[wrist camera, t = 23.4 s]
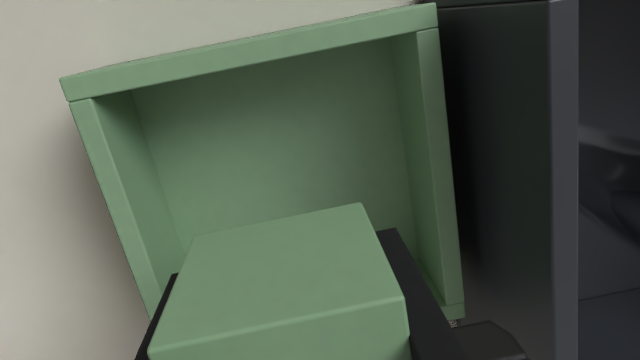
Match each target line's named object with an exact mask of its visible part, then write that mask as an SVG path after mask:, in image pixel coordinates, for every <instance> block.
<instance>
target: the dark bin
mask: <svg viewBox="0 0 640 360" xmlns="http://www.w3.org/2000/svg"><path fill="white" fill-rule="evenodd" d="M426 3H436V8H437V18H438V27H436V28H438V29H439V38H440V48H441V59H442V69H443V79H444V90H445V100H446V111H447V121H448V131H449V142H450V152H451V163H452V173H453V183H454V194H455V204H456V215H457V225H458V235H459V246H460V256H461V267H462V277H463V287H464V298H465V301H464V302H465V310H466V317H464V318H459V319H456V321H457V327H459V326H463V325H468V324H473V323H478V322H482V321H487V320H490V321H492V322H494V323H495V324H497V325H498V326H500V327H501V328H503V329H504V330H506V331H508V332H509V333H511V334H512V335H513V336H514V338H515V339H516V340H517V342H518V343H519V344H520V346H521V347H522V348H523V350H524V351H525V353H526V354H527V357H528V359H529V358H530V359H531V360H640V261H639V260H638V259H636V258H635V257H634V256H633V255H632V254H631V253H629V252H628V251H627V250H626V249H625V248H624V247H622V246H621V245H620V244H619V243H618V242H616V241H615V240H614V239H613V238H612V237H610V236H609V235H608V234H606V233H605V232H604V231H603V230H601V229H600V228H599V227H598V226H596V225H595V224H594V223H592V222H591V221H590V220H589V219H587V218H586V217H585V216H584V215H582V214H581V213H580V212H579V211H578V125H579V126H584V127H588V128H592V129H596V130H601V131H605V132H609V133H614V134H618V135H622V136H627V137H631V138H635V139H640V0H423V4H426Z"/></svg>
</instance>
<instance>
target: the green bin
mask: <svg viewBox="0 0 640 360" xmlns="http://www.w3.org/2000/svg"><path fill="white" fill-rule="evenodd" d="M436 27H438V18H437V8H436V3H426V4H417V5H409V6H401V7H396V8H391V9H386V10H381V11H376V12H371V13H366V14H361V15H356V16H351V17H346V18H341V19H336V20H331V21H326V22H321V23H316V24H311V25H306V26H301V27H297V28H292V29H287V30H282V31H277V32H272V33H267V34H262V35H257V36H252V37H247V38H242V39H237V40H232V41H227V42H222V43H217V44H212V45H207V46H202V47H197V48H193V49H188V50H183V51H178V52H173V53H168V54H163V55H158V56H153V57H148V58H143V59H138V60H133V61H128V62H123V63H118V64H113V65H108V66H105V67H101V68H97V69H93V70H89V71H85V72H82V73H78V74H74V75H70V76H66V77H62V78H60V79H59V81H60V84H61V87H62V89H63V92H64V94H65V97H66V100H67V101H68V102H70V103H69V107H70V110H71V112H72V115H73V118H74V120H75V123H76V126H77V128H78V131H79V133H80V136H81V139H82V141H83V144H84V147H85V149H86V152H87V155H88V157H89V160H90V163H91V165H92V168H93V170H94V173H95V176H96V178H97V181H98V184H99V186H100V189H101V192H102V194H103V197H104V200H105V202H106V205H107V208H108V210H109V213H110V215H111V218H112V221H113V223H114V226H115V229H116V231H117V234H118V237H119V239H120V242H121V245H122V247H123V250H124V252H125V255H126V258H127V260H128V263H129V266H130V268H131V271H132V274H133V276H134V279H135V282H136V284H137V287H138V290H139V292H140V295H141V297H142V300H143V303H144V305H145V308H146V311H147V313H148V316H149V319H150V321H151V320H152V318H153V316H154V313H155V311H156V309H157V307H158V304H159V302H160V300H161V297H162V295H163V293H164V290H165V288H166V286H167V284H168V281H169V279H170V277H171V274H174V273H179V271H180V269H181V266H182V264H183V261H184V259H185V256H186V254H187V252H188V249H189V247H190V244H191V242H192V239H193V238H194V237H195V236H199V235H204V234H209V233H213V232H218V231H223V230H228V229H233V228H238V227H242V226H247V225H252V224H257V223H262V222H266V221H271V220H276V219H281V218H286V217H290V216H295V215H300V214H305V213H310V212H315V211H319V210H324V209H329V208H334V207H339V206H343V205H348V204H353V203H358V202H360V203H362V205H363V207H364V209H365V211H366V213H367V216H368V218H369V220H370V222H371V224H372V227H373V229H374V231H380V230H385V229H389V228H394V227H396V229H397V231H398V233H399V234H400V236H401V238H402V240H403V242H404V243H405V245H406V247H407V249H408V251H409V252H410V254H411V256H412V258H413V259H414V261H415V263H416V265H417V267H418V268H419V270H420V272H421V274H422V276H423V277H424V279H425V281H426V283H427V285H428V286H429V288H430V290H431V292H432V294H433V295H434V297H435V299H436V301H437V302H438V304H439V306H440V308H441V310H442V311H443V313H444V315H445V317H446V319H447V320H448V321H450V320H454V319H459V318H464V317H466V310H465V302H464V301H465V298H464V287H463V277H462V267H461V256H460V246H459V235H458V225H457V215H456V204H455V194H454V183H453V173H452V163H451V152H450V142H449V131H448V121H447V111H446V100H445V90H444V79H443V69H442V59H441V48H440V38H439V29H438V28H436Z"/></svg>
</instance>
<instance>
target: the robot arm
mask: <svg viewBox="0 0 640 360" xmlns="http://www.w3.org/2000/svg"><path fill="white" fill-rule="evenodd" d="M375 233H376V236H377V238H378V240H379V242H380V244H381V247H382V249H383V251H384V253H385V255H386V258H387V260H388V262H389V264H390V266H391V269H392V271H393V273H394V275H395V278H396V280H397V282H398V284H399V286H400V289H401V291H402V293H403V295H404V297H405V303H406V310H407V317H408V323H409V330H410V336H409V341H410V347H411V354H412V360H531V359H530V358H529V359H528V357H527V354H526V353H525V351H524V350H523V348H522V347H521V346H520V344H519V343H518V342H517V340H516V339H515V338H514V336H513V335H512V334H511V333H509V332H508V331H506V330H504V329H503V328H501V327H500V326H498V325H497V324H495V323H494V322H492V321H490V320H487V321H482V322H478V323H473V324H468V325H463V326H459V327H454V328H451V326H450V324H449V322H448V320H447V319H446V317H445V315H444V313H443V311H442V310H441V308H440V306H439V304H438V302H437V301H436V299H435V297H434V295H433V294H432V292H431V290H430V288H429V286H428V285H427V283H426V281H425V279H424V277H423V276H422V274H421V272H420V270H419V268H418V267H417V265H416V263H415V261H414V259H413V258H412V256H411V254H410V252H409V251H408V249H407V247H406V245H405V243H404V242H403V240H402V238H401V236H400V234H399V233H398V231H397V229H396V227H394V228H389V229H385V230H380V231H375ZM177 276H178V273H174V274H171V277H170V279H169V281H168V284H167V286H166V288H165V290H164V293H163V295H162V297H161V300H160V302H159V304H158V307H157V309H156V311H155V313H154V316H153V318H152V320H151V323H150V325H149V327H148V329H147V332H146V334H145V336H144V339H143V341H142V343H141V346H140V348H139V350H138V352H137V355H136V357H135V359H134V360H149V357H148V355H147V349H148V346H149V344H150V341H151V339H152V336H153V334H154V332H155V329H156V327H157V324H158V322H159V319H160V317H161V315H162V312H163V310H164V307H165V305H166V302H167V300H168V298H169V295H170V293H171V290H172V288H173V285H174V283H175V281H176V278H177Z"/></svg>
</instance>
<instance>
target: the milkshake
mask: <svg viewBox="0 0 640 360" xmlns="http://www.w3.org/2000/svg"><path fill="white" fill-rule="evenodd" d="M578 211H579V212H580V213H581V214H582V215H584V216H585V217H586V218H587V219H589V220H590V221H591V222H592V223H594V224H595V225H596V226H598V227H599V228H600V229H601V230H603V231H604V232H605V233H606V234H608V235H609V236H610V237H612V238H613V239H614V240H615V241H616V242H618V243H619V244H620V245H621V246H622V247H624V248H625V249H626V250H627V251H628V252H629V253H631V254H632V255H633V256H634V257H635V258H636V259H638V260H639V261H640V139H635V138H631V137H627V136H622V135H618V134H614V133H609V132H605V131H601V130H596V129H592V128H588V127H584V126H579V125H578Z"/></svg>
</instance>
